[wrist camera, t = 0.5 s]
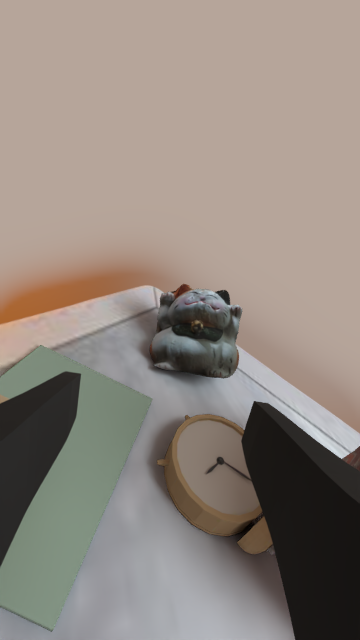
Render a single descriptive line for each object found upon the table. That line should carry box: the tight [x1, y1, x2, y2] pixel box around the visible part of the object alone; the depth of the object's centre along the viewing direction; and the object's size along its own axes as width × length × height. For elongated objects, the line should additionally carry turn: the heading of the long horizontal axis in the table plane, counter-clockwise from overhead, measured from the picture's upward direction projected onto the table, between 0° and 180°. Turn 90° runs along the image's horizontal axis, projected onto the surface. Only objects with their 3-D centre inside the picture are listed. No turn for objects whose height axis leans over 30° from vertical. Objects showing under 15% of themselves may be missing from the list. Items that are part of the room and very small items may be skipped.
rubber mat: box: [0, 345, 152, 632], centre depth 25 cm, size 20×16×1 cm
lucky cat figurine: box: [150, 284, 242, 379], centre depth 42 cm, size 15×12×14 cm
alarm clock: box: [157, 414, 275, 556], centre depth 28 cm, size 11×5×15 cm
